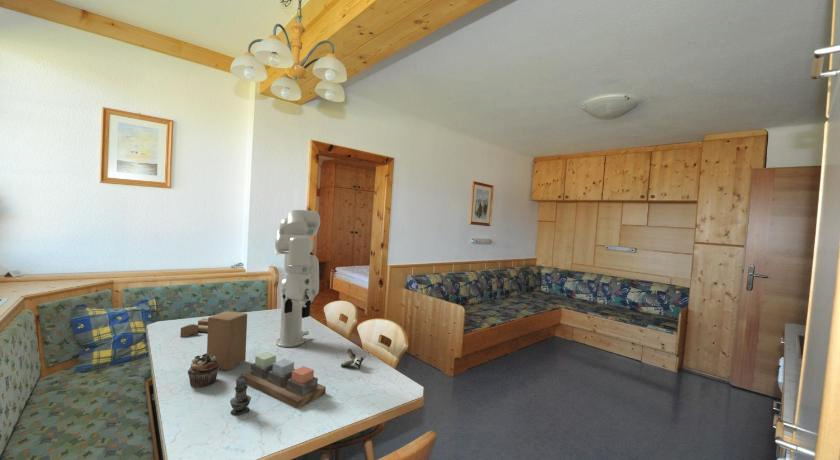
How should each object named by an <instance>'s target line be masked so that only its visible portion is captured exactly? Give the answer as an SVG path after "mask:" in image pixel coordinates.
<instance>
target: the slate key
mask: <svg viewBox="0 0 840 460" xmlns="http://www.w3.org/2000/svg"><path fill="white" fill-rule="evenodd" d="M294 369H295V361H292V360H289V359H286V358H284V359H280V360H278V361H276V362H275V363H273V373H275V374H277V375H279V376H284V375H286V374H289V373H291V372H292V371H293V370H294Z"/></svg>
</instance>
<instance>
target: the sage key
mask: <svg viewBox="0 0 840 460" xmlns="http://www.w3.org/2000/svg"><path fill="white" fill-rule="evenodd" d="M254 360H255V361H254V363H255V365H256V366H258V367H261V368H263V369H264V368H266V367H269V366H271V365H273V363H275V362H277V355H276V354H273V353H270V352H268V351H267V352H264V353H261V354H258V355H256V356H255V358H254Z"/></svg>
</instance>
